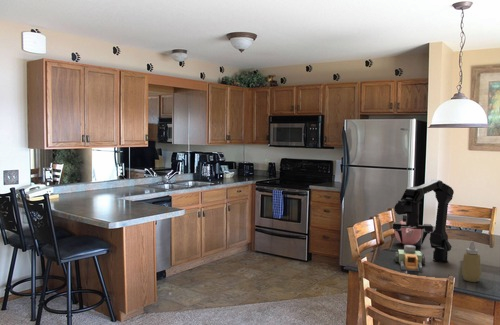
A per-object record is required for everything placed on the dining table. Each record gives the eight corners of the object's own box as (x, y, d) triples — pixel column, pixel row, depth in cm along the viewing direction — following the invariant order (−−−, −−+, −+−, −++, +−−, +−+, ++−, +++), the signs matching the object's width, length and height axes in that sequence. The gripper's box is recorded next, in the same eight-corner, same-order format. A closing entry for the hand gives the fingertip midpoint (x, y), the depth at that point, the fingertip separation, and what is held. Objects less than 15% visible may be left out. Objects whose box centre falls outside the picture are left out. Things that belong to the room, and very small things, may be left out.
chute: (416, 264, 216) (416, 254, 216) (417, 269, 208) (418, 259, 207) (404, 263, 218) (404, 253, 217) (405, 268, 209) (405, 258, 209)
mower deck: (423, 260, 225) (423, 245, 224) (424, 265, 216) (425, 250, 215) (394, 258, 229) (395, 243, 228) (395, 263, 220) (395, 247, 219)
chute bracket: (420, 265, 216) (420, 261, 216) (422, 271, 206) (422, 267, 206) (400, 263, 219) (400, 259, 219) (401, 269, 208) (401, 265, 208)
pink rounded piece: (391, 247, 251) (392, 222, 250) (396, 240, 269) (396, 216, 268) (419, 251, 244) (420, 224, 243) (422, 243, 262) (423, 218, 261)
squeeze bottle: (474, 277, 198) (476, 239, 197) (484, 283, 190) (486, 243, 189) (457, 277, 198) (459, 239, 197) (467, 283, 190) (468, 243, 189)
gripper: (430, 211, 216) (429, 241, 217) (392, 209, 222) (391, 238, 223) (433, 215, 206) (432, 246, 207) (393, 212, 211) (392, 243, 212)
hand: (411, 243), depth 212 cm, fingers open, 9 cm apart
